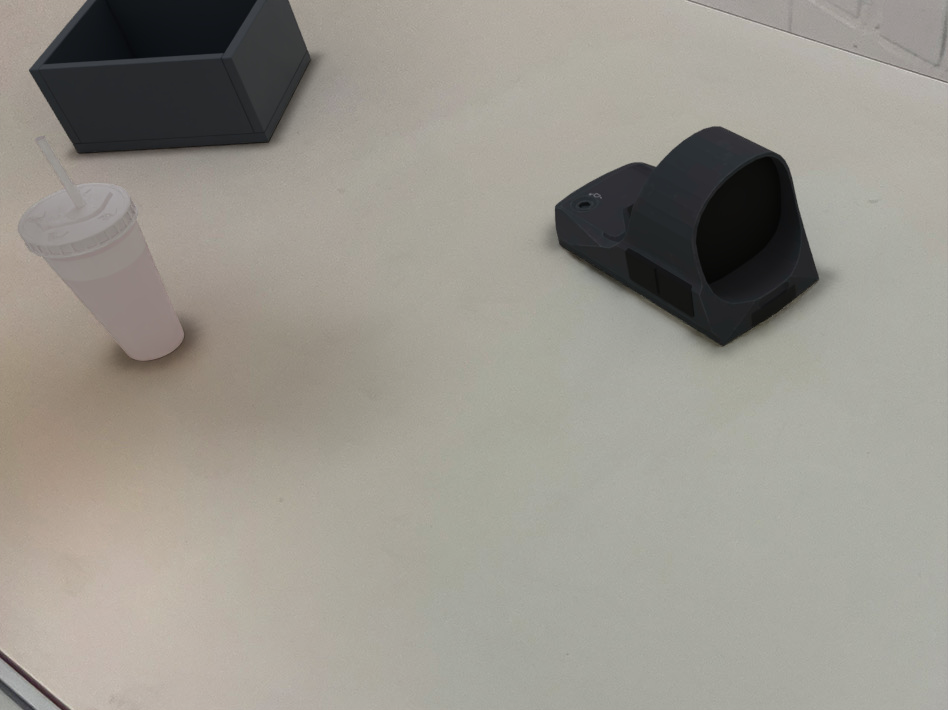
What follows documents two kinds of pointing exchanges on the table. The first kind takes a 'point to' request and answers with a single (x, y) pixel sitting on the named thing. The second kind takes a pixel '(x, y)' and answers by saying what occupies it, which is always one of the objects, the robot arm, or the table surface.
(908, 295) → the table surface
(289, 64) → the bin
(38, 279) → the table surface
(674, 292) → the sight
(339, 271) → the table surface
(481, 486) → the table surface
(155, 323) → the smoothie
